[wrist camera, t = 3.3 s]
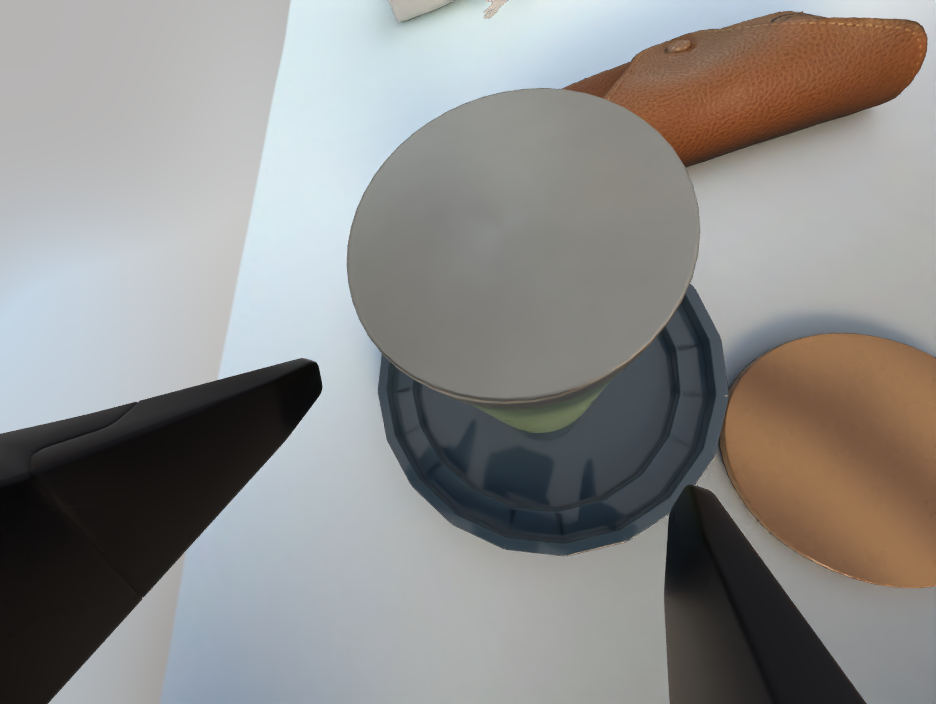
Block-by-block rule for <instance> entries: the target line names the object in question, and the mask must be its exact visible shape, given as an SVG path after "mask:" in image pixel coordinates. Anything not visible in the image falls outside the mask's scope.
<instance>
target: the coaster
mask: <svg viewBox="0 0 936 704" xmlns="http://www.w3.org/2000/svg"><path fill="white" fill-rule="evenodd" d="M728 393H729V396H728V397H729V399H728V403H727V407H726V411H725V416H724V420H723V424H722V428H721V433H720V448H721V452H722V457H723V461H724V464H725V467H726V470H727V472H728V475H729V478H730V480H731V482H732V484H733V486H734V487H735V489H736V491H737V493H738V495H739V496H740V498H741V499H742V501H743V502H744V504H745V505H746V507H747V508H748V509H749V510H750V511H751V513H752V514H753V515H754V516H755V517H756V519H757V520H758V521H759V522H760V523H761V524H762V525H763V526H764V527H765V528H766V529H767V530H768V531H769V532H770V533H771V534H773V535H774V536H775V537H776V538H778V539H779V540H780V541H781V542H783V543H784V544H785V545H787V546H788V547H789V548H791V549H792V550H794V551H796V552H797V553H799V554H800V555H802V556H804V557H805V558H807V559H809V560H811V561H813V562H815V563H817V564H819V565H821V566H823V567H825V568H827V569H830V570H832V571H834V572H837V573H840V574H842V575H845V576H848V577H850V578H853V579H857V580H860V581H864V582H868V583H872V584H876V585H883V586H890V587H900V588H923V587H933V586H936V358H935V357H933V356H931V355H929V354H928V353H925V352H923V351H921V350H918V349H916V348H913V347H911V346H909V345H905V344H902V343H899V342H896V341H893V340H889V339H885V338H880V337H875V336H870V335H862V334H853V333H830V334H819V335H813V336H808V337H803V338H799V339H796V340H793V341H790V342H787V343H784V344H782V345H780V346H778V347H776V348H774V349H772V350H770V351H768V352H766V353H764V354H763V355H761V356H760V357H758V358H757V359H755V360H754V361H753V362H751V363H750V364H749V365H748V366H747V367H746V368H745V369H744V370H743V371H742V372H741V373H740V375H739V376H738V377H737V378H736V379H735V381H734V383H733V384H732V386H731V388H730V389H729V391H728Z"/></svg>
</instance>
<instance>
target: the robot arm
mask: <svg viewBox="0 0 936 704" xmlns="http://www.w3.org/2000/svg"><path fill="white" fill-rule="evenodd" d="M321 392H322V381H321V376H320V371H319V366H318V364H317V363H316V362H314V361H311V360H308V359H305V358H300V359H296V360H292V361H289V362H285V363H281V364H277V365H273V366H270V367H266V368H262V369H258V370H255V371H251V372H247V373H243V374H239V375H236V376H232V377H228V378H224V379H220V380H217V381H213V382H209V383H205V384H202V385H198V386H194V387H190V388H187V389H183V390H180V391H175V392H171V393H168V394H164V395H160V396H156V397H152V398H149V399H145V400H141V401H139V402H133V403H130V404H126V405H122V406H118V407H114V408H110V409H107V410H103V411H99V412H95V413H91V414H87V415H82V416H78V417H74V418H70V419H66V420H61V421H56V422H52V423H48V424H43V425H38V426H34V427H30V428H25V429H20V430H16V431H11V432H7V433H3V434H0V704H48V703H49V702H50V701H51V700H52V698H53V697H54V696H55V695H56V694H57V693H58V692H59V691H60V690H61V689H62V687H63V686H64V685H65V684H66V683H67V682H68V681H69V680H70V679H71V677H72V676H73V675H74V674H75V673H76V672H77V671H78V670H79V669H80V667H81V666H82V665H83V664H84V663H85V662H86V661H87V660H88V659H89V658H90V656H91V655H92V654H93V653H94V652H95V651H96V650H97V649H98V648H99V646H100V645H101V644H102V643H103V642H104V641H105V640H106V639H107V638H108V636H109V635H110V634H111V633H112V632H113V631H114V630H115V629H116V627H118V626H119V624H120V623H121V622H122V621H123V620H124V619H125V618H126V617H127V615H128V614H129V613H130V612H131V611H132V610H133V609H134V608H135V607H136V605H137V604H138V603H139V602H140V601H141V600H142V597H144V596H145V595H146V594H147V593H148V592H149V591H150V590H151V588H153V586H154V585H155V584H156V583H157V582H158V581H159V580H160V579H161V578H162V577H163V575H164V574H165V573H166V572H167V571H168V570H169V569H170V568H171V567H172V565H173V564H174V563H175V562H176V561H177V560H178V559H179V558H180V557H181V556H182V554H183V553H184V552H185V551H186V550H187V549H188V548H189V547H190V546H191V545H192V543H193V542H194V541H195V540H196V539H197V538H198V537H199V536H200V535H201V533H202V532H203V531H204V530H205V529H206V528H207V527H208V526H209V525H210V524H211V522H212V521H213V520H214V519H215V518H216V517H217V516H218V515H219V514H220V512H221V511H222V510H223V509H224V508H225V507H226V506H227V505H228V504H229V503H230V501H231V500H232V499H233V498H234V497H235V496H236V495H237V494H238V493H239V492H240V490H241V489H242V488H243V487H244V486H245V485H246V484H247V483H248V482H249V480H250V479H251V478H252V477H253V476H254V475H255V474H256V473H257V472H258V471H259V469H260V468H261V467H262V466H263V465H264V464H265V463H266V462H267V461H268V459H269V458H270V457H271V456H272V455H273V454H274V453H275V452H276V451H277V450H278V448H279V447H280V446H281V445H282V444H283V443H284V442H285V440H286V439H287V438H288V437H289V435H290V434H291V433H292V432H293V430H294V429H295V428H296V426H297V425H298V424H299V422H300V421H301V420H302V418H303V417H304V416H305V414H306V413H307V412H308V410H309V409H310V408H311V406H312V405H313V404H314V402H315V401H316V400H317V398H318V397H319V395H320V394H321ZM664 608H665V627H666V645H667V663H668V681H669V699H670V704H866V702H865V701H864V699H863V698H862V697H861V695H860V694H859V693H858V691H857V690H856V688H855V687H854V686H853V684H852V683H851V682H850V680H849V679H848V677H847V676H846V675H845V673H844V672H843V671H842V669H841V668H840V666H839V665H838V664H837V662H836V661H835V660H834V658H833V657H832V656H831V654H830V653H829V651H828V650H827V649H826V647H825V646H824V645H823V643H822V642H821V640H820V639H819V638H818V636H817V635H816V634H815V632H814V631H813V629H812V628H811V627H810V625H809V624H808V623H807V621H806V620H805V618H804V617H803V616H802V614H801V613H800V612H799V610H798V609H797V607H796V606H795V605H794V603H793V602H792V601H791V599H790V598H789V596H788V595H787V594H786V592H785V591H784V590H783V588H782V587H781V585H780V584H779V583H778V581H777V580H776V579H775V577H774V576H773V574H772V573H771V572H770V570H769V569H768V568H767V566H766V565H765V563H764V562H763V561H762V559H761V558H760V557H759V555H758V554H757V552H756V551H755V550H754V548H753V547H752V546H751V544H750V543H749V541H748V540H747V539H746V537H745V536H744V535H743V533H742V532H741V530H740V529H739V528H738V526H737V525H736V524H735V522H734V521H733V519H732V518H731V517H730V515H729V514H728V513H727V511H726V510H725V508H724V507H723V506H722V504H721V503H720V502H719V500H718V499H717V497H716V496H715V495H714V494H713V493H712V492H711V491H709V490H707V489H704V488H701V487H698V486H694V485H687V486H686V487H685V488H684V489H683V491H682V492H681V494H680V496H679V497H678V499H677V500H676V502H675V504H674V505H673V507H672V509H671V511H670V515H669V523H668V539H667V554H666V570H665V587H664Z"/></svg>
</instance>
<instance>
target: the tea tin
mask: <svg viewBox="0 0 936 704" xmlns="http://www.w3.org/2000/svg"><path fill="white" fill-rule="evenodd" d="M699 239H700V223H699V210H698V204H697V200H696V196H695V192H694V188H693V185H692V182H691V180H690V178H689V175H688V173H687V171H686V168H685V166H684V164H683V163H682V161H681V160H680V158H679V157H678V155H677V154H676V152H675V150H674V149H673V147H672V146H671V145H670V144H669V143H668V142H667V141H666V140H665V139H664V137H663V136H662V135H661V134H660V133H659V132H658V131H657V130H656V129H654V128H653V127H652V126H651V125H650V124H648V123H647V122H646V121H645V120H644V119H642V118H641V117H639V116H637V115H636V114H634V113H633V112H631V111H629V110H628V109H626V108H624V107H622V106H620V105H617V104H615V103H613V102H611V101H609V100H606V99H603V98H600V97H597V96H593V95H590V94H587V93H582V92H576V91H571V90H564V89H549V88H538V89H521V90H514V91H507V92H502V93H497V94H493V95H489V96H485V97H482V98H479V99H476V100H473V101H471V102H468V103H465V104H463V105H461V106H458V107H456V108H454V109H452V110H450V111H448V112H446V113H444V114H442V115H441V116H439V117H437V118H435V119H434V120H432V121H430V122H429V123H427V124H426V125H425V126H423V127H422V128H420V129H419V130H418V131H416V132H415V133H413V134H412V135H411V136H410V137H409V138H408V139H407V140H406V141H404V142H403V143H402V144H401V145H400V146H399V147H398V148H397V149H396V150H395V151H394V152H393V153H392V154H391V155H390V156H389V158H388V159H387V160H386V161H385V162H384V163H383V165H382V166H381V167H380V169H379V170H378V171H377V173H376V174H375V175H374V177H373V179H372V180H371V182H370V184H369V185H368V187H367V189H366V190H365V192H364V194H363V196H362V199H361V201H360V203H359V205H358V208H357V210H356V213H355V216H354V219H353V223H352V226H351V230H350V236H349V241H348V249H347V273H348V283H349V288H350V292H351V297H352V301H353V304H354V307H355V309H356V312H357V315H358V317H359V320H360V322H361V323H362V325H363V327H364V329H365V331H366V332H367V334H368V336H369V338H370V339H371V340H372V341H373V343H374V344H375V345H376V347H377V348H378V349H379V350H380V352H381V353H382V354H383V355H384V356H385V357H386V358H387V359H388V360H389V361H390V362H391V363H392V364H394V365H395V366H396V367H397V368H398V369H399V370H401V371H402V372H404V373H405V374H407V375H408V376H409V377H411V378H412V379H414V380H415V381H417V382H419V383H421V384H423V385H425V386H427V387H429V388H431V389H433V390H435V391H437V392H439V393H441V394H443V395H445V396H447V397H449V398H452V399H455V400H458V401H461V402H464V403H467V404H471V405H473V406H475V407H476V408H478V409H480V410H482V411H484V412H485V413H487V414H489V415H491V416H493V417H494V418H496V419H498V420H500V421H502V422H503V423H505V424H507V425H509V426H511V427H513V428H515V429H518V430H521V431H525V432H530V433H547V432H552V431H556V430H559V429H562V428H564V427H566V426H568V425H570V424H571V423H573V422H574V421H576V420H577V419H578V418H579V417H580V416H581V415H582V414H583V413H584V412H585V411H586V409H587V408H588V407H589V406H590V405H591V403H592V402H593V401H594V400H595V399H596V398H597V396H598V395H599V394H600V393H601V392H602V390H603V389H604V388H605V387H606V386H607V384H608V383H609V382H610V381H611V380H612V378H613V377H615V376H616V375H618V374H619V373H621V372H622V371H623V370H624V369H625V368H626V367H628V366H629V365H630V364H631V363H632V362H633V361H634V360H635V359H636V358H638V357H639V356H640V355H641V354H642V353H643V351H644V350H645V349H646V348H647V347H648V346H649V345H650V344H651V343H652V342H653V340H654V339H655V338H656V337H657V336H658V335H659V333H660V332H661V331H662V330H663V329H664V327H665V326H666V325H667V324H668V323H669V321H670V320H671V318H672V316H673V315H674V313H675V312H676V310H677V308H678V307H679V305H680V304H681V302H682V300H683V298H684V296H685V293H686V291H687V289H688V286H689V284H690V282H691V279H692V277H693V273H694V269H695V265H696V261H697V257H698V250H699Z"/></svg>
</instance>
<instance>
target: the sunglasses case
mask: <svg viewBox="0 0 936 704" xmlns="http://www.w3.org/2000/svg"><path fill="white" fill-rule="evenodd" d="M926 52H927V35H926V33H925V30H924V28H923V26H921V25H920V24H919V23H917V22H915V21H910V20H903V19H879V18H855V17H853V18H835V17H833V18H826V17H822V16H815V15H811V14H805V13H803V11H802V12H793V11H783V12H777V13H774V14H769V15H766V16H763V17H758V18H754V19H751V20H748V21H744V22H741V23H738V24H734V25H731V26H728V27H724V28H722V29H708V30H700V31H697V32H693V33H688V34H685V35H683V36H680V37H677V38H674V39H672V40H670V41H666V42H664V43H661V44H658V45H655V46H652V47H650V48H648V49H645V50H643V51H641V52H640V53H638V54H637V55H636V56H635V57H634V58H633V59H632V61H631V62H628V63H626V64H623V65H621V66H618V67H615V68H613V69H610V70H606V71H604V72H601V73H599V74H596V75H593V76H591V77H589V78H585V79H583V80H582V81H579V82H577V83H573V84H571V85H569V86H567V87H565V88H563V89H564V90H571V91H576V92H582V93H587V94H590V95H593V96H597V97H600V98H603V99H606V100H609V101H611V102H613V103H615V104H617V105H620V106H622V107H624V108H626V109H628V110H629V111H631V112H633V113H634V114H636V115H637V116H639V117H641V118H642V119H644V120H645V121H646V122H647V123H648V124H650V125H651V126H652V127H653V128H654V129H656V130H657V131H658V132H659V133H660V134H661V135H662V136H663V137H664V139H665V140H666V141H667V142H668V143H669V144H670V145H671V146H672V147H673V149H674V150H675V152H676V154H677V155H678V157H679V158H680V160H681V161H682V163H683V164H684V166H685V167H688V166H691V165H694V164H697V163H701V162H704V161H707V160H710V159H713V158H715V157H718V156H721V155H724V154H727V153H730V152H733V151H736V150H739V149H742V148H745V147H748V146H751V145H754V144H757V143H761V142H764V141H767V140H770V139H773V138H777V137H780V136H783V135H786V134H789V133H792V132H795V131H798V130H801V129H804V128H808V127H811V126H814V125H817V124H820V123H823V122H827V121H830V120H833V119H837V118H840V117H844V116H847V115H850V114H853V113H856V112H859V111H861V110H864V109H868V108H871V107H875V106H878V105H881V104H883V103H885V102H888V101H890V100H892V99H894V98H896V97H897V96H898V95H899V94H900V93H901V92H902V91H903V90H904V89H905V88H906V87H907V86H908V85H909V84H910V83H911V82H912V81H913V79H914V77H915V76H916V74H917V73H918V72H919V70H920V68H921V65H922V63H923V61H924V58H925V56H926Z"/></svg>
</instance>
